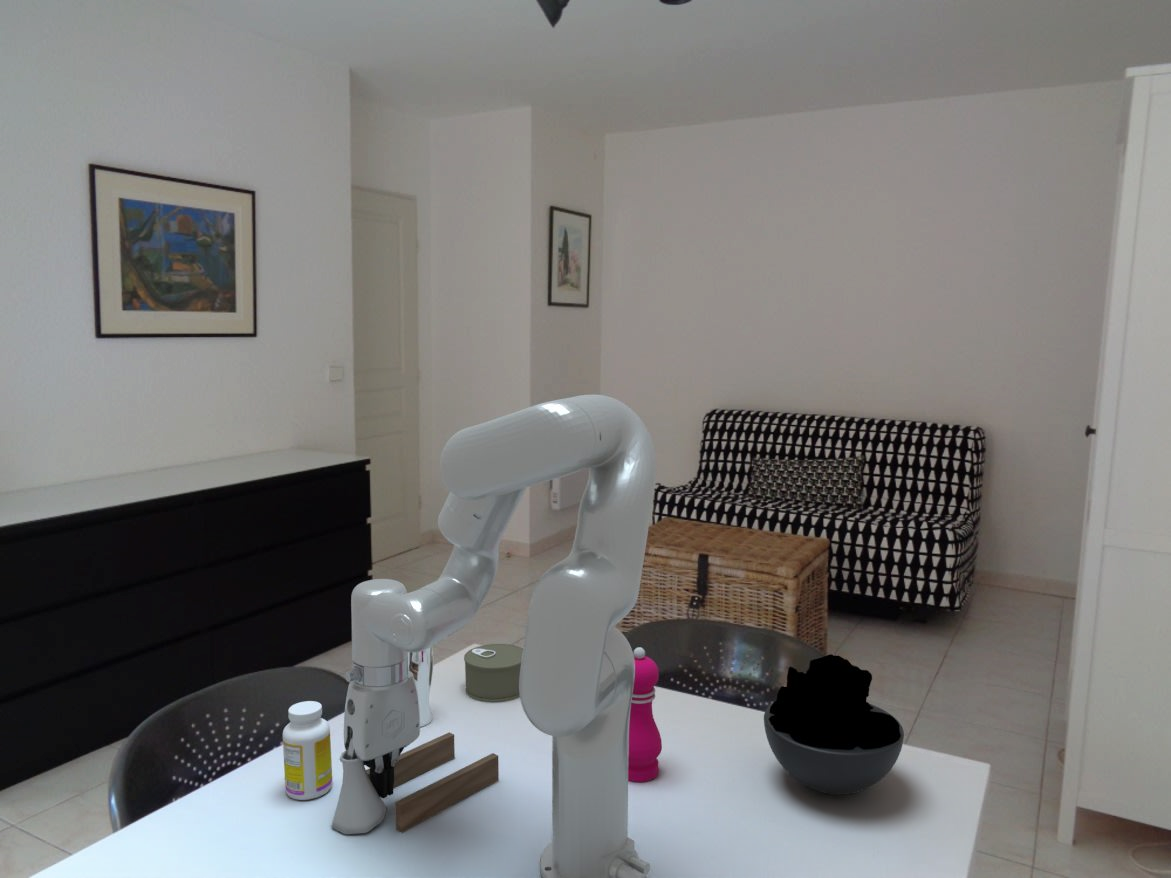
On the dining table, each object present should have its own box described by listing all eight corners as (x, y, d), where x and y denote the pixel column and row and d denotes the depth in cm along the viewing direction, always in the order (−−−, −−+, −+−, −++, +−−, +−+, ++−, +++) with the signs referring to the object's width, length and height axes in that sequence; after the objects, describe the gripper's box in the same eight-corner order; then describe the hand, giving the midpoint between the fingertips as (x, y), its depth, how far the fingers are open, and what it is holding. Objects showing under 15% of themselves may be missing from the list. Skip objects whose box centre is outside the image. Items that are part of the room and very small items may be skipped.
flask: (368, 840, 114) (361, 772, 112) (321, 832, 116) (313, 765, 114) (395, 806, 121) (388, 742, 119) (350, 800, 123) (343, 737, 121)
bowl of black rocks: (895, 761, 135) (901, 647, 133) (906, 833, 116) (913, 701, 113) (766, 745, 140) (769, 635, 138) (757, 810, 121) (760, 684, 119)
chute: (498, 780, 129) (498, 755, 129) (401, 832, 116) (400, 805, 115) (449, 755, 137) (449, 732, 136) (353, 802, 123) (352, 776, 123)
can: (502, 709, 154) (501, 672, 153) (451, 693, 160) (450, 658, 159) (540, 685, 164) (540, 651, 163) (491, 672, 170) (491, 639, 169)
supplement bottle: (332, 775, 131) (328, 695, 129) (333, 797, 124) (330, 714, 123) (285, 782, 129) (282, 701, 127) (284, 805, 122) (280, 720, 121)
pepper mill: (606, 776, 130) (607, 651, 128) (626, 756, 137) (627, 636, 134) (650, 788, 127) (651, 660, 124) (668, 766, 133) (670, 644, 131)
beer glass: (390, 716, 151) (387, 634, 149) (428, 708, 153) (427, 628, 152) (398, 733, 144) (396, 647, 142) (439, 725, 147) (437, 641, 145)
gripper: (348, 694, 110) (351, 826, 113) (440, 661, 121) (440, 782, 124) (317, 677, 115) (320, 804, 118) (408, 647, 126) (409, 764, 129)
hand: (382, 792), depth 121 cm, fingers closed
